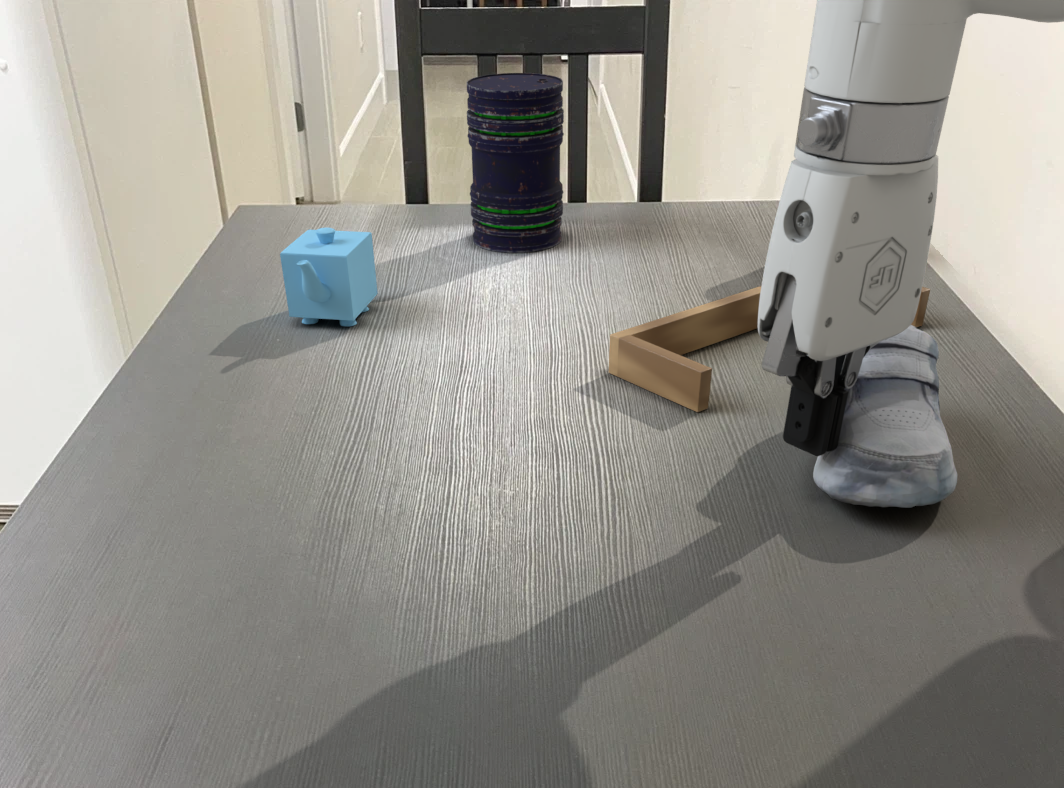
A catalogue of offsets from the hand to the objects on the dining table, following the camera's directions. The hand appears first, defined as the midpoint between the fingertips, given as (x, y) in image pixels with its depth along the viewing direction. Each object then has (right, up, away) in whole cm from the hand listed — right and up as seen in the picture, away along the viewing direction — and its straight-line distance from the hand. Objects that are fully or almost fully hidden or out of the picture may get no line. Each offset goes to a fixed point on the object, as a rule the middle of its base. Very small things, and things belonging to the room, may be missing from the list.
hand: (809, 445), depth 71 cm
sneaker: (+5, 0, +6) cm, 8 cm away
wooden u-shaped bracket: (+3, +14, +23) cm, 27 cm away
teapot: (-36, +19, +30) cm, 50 cm away
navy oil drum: (-19, +34, +48) cm, 62 cm away
